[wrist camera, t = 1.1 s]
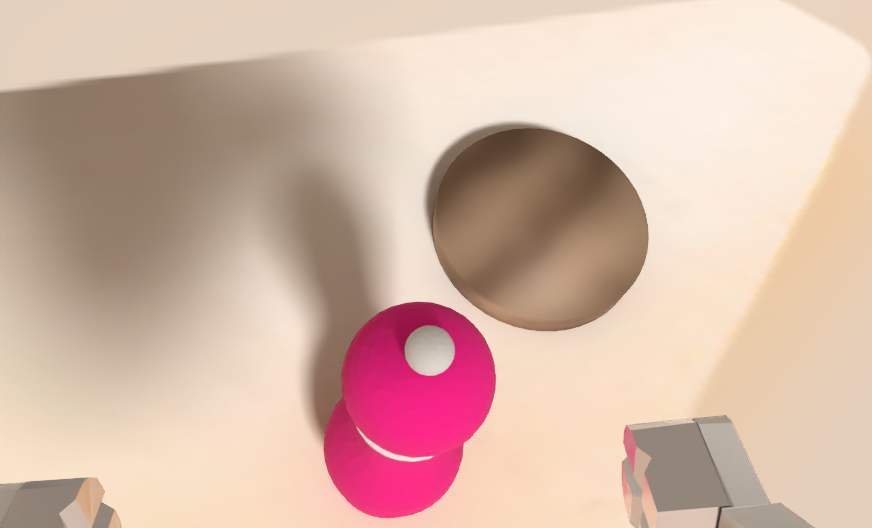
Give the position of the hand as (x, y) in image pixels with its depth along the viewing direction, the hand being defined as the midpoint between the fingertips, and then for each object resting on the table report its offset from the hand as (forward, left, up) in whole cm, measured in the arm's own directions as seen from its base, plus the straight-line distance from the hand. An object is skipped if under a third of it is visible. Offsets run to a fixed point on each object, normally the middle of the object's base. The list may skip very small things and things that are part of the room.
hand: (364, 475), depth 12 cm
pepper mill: (-2, +7, -33) cm, 34 cm away
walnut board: (-4, +25, -33) cm, 42 cm away
